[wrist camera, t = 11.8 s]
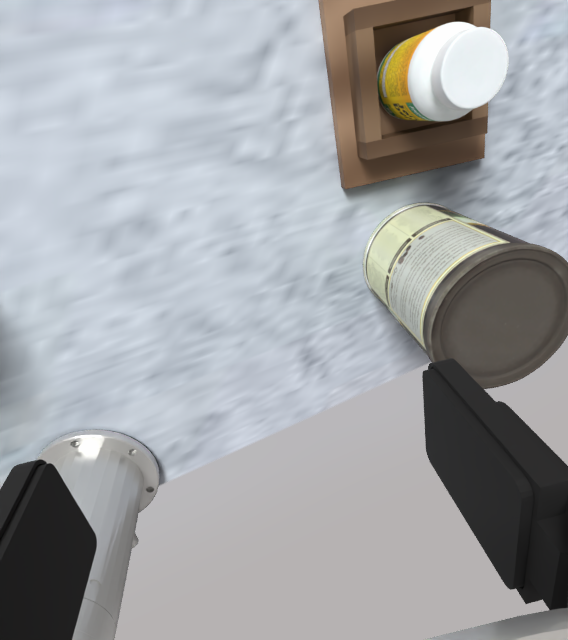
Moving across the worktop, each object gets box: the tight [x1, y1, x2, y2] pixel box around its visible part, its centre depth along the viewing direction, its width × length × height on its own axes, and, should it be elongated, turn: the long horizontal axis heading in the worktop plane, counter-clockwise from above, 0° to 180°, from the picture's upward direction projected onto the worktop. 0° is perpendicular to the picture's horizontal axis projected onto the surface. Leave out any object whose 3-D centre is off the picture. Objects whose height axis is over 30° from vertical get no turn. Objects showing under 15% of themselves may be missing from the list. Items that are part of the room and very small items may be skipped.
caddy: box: [319, 0, 491, 189], centre depth 32 cm, size 14×12×4 cm
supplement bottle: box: [377, 22, 509, 121], centre depth 28 cm, size 5×5×10 cm
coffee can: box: [363, 203, 568, 389], centre depth 34 cm, size 10×10×14 cm
